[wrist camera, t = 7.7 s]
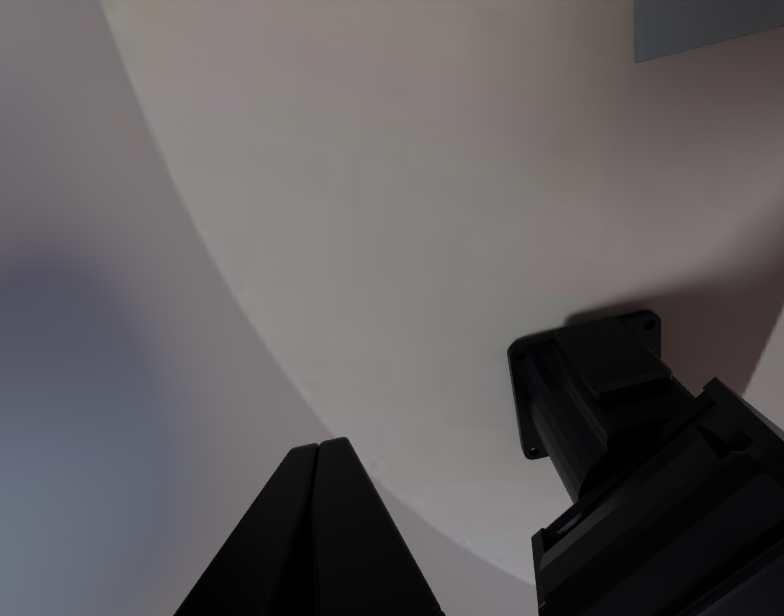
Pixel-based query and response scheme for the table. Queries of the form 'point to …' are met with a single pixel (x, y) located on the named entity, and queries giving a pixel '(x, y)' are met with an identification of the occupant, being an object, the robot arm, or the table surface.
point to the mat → (698, 23)
